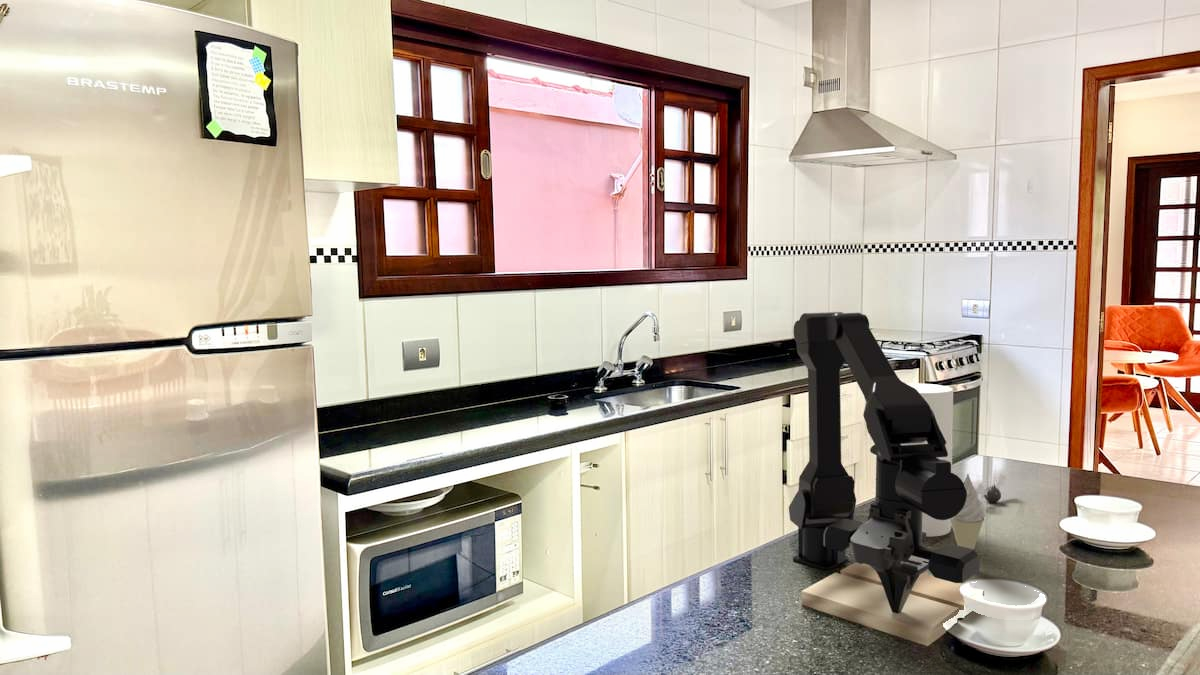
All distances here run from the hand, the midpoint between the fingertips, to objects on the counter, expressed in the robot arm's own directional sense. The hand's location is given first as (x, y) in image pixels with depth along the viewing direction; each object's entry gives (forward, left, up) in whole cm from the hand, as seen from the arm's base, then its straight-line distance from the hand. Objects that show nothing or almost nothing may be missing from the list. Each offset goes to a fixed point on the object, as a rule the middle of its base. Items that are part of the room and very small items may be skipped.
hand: (896, 612), depth 107 cm
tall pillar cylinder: (-16, +40, -2) cm, 43 cm away
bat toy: (-12, +63, -2) cm, 64 cm away
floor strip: (-4, +12, -2) cm, 12 cm away
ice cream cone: (-2, +26, -2) cm, 26 cm away
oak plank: (-4, +2, -2) cm, 5 cm away
